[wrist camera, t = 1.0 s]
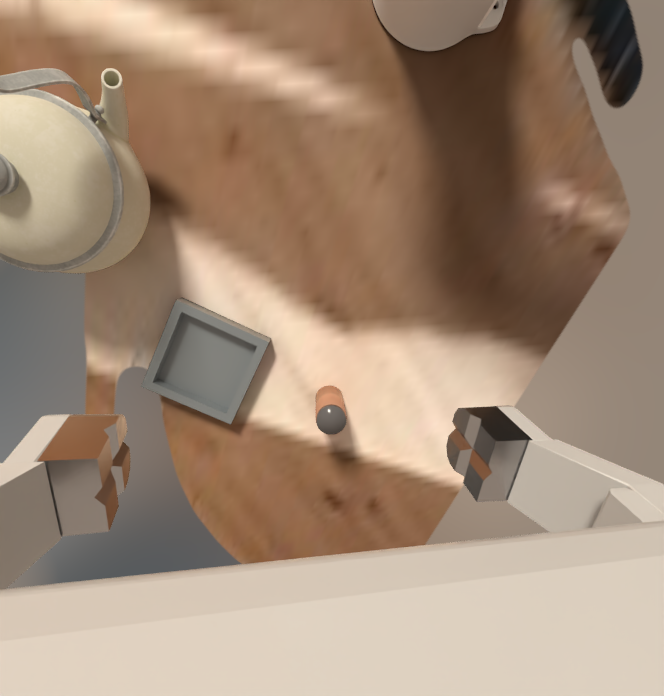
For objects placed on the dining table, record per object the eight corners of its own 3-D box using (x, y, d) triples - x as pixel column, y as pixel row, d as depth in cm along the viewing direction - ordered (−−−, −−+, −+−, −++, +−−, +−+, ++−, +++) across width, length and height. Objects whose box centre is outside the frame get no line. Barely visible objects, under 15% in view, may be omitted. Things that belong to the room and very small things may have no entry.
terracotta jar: (322, 381, 58) (324, 401, 50) (347, 392, 58) (352, 413, 51) (311, 404, 59) (310, 427, 51) (335, 415, 59) (338, 439, 51)
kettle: (101, 309, 54) (-73, 353, 30) (-19, 212, 51) (-326, 173, 26) (218, 166, 51) (130, 85, 26) (98, 51, 47) (-131, -163, 23)
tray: (182, 297, 54) (176, 299, 52) (271, 338, 56) (269, 342, 54) (148, 380, 57) (140, 386, 54) (234, 417, 58) (230, 424, 56)
